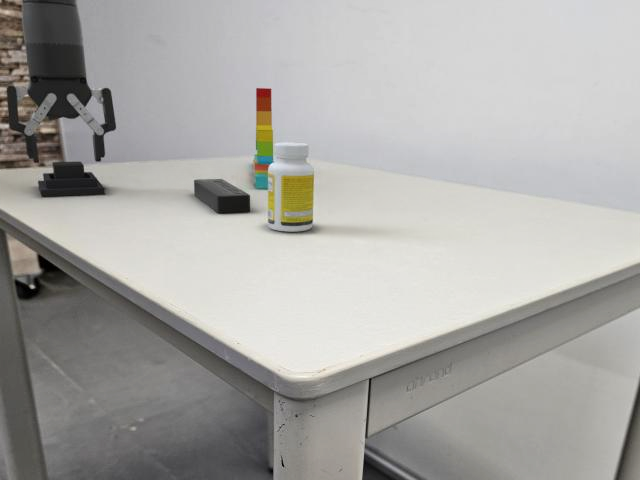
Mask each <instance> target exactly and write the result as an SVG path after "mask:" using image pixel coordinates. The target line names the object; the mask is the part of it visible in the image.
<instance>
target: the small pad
mask: <svg viewBox="0 0 640 480" xmlns="http://www.w3.org/2000/svg"><path fill="white" fill-rule="evenodd" d="M52 170H53V173H54V179H75V178H85V174H84V172H85V166H84V164H83V162H82V161H52Z"/></svg>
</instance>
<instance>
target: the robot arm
mask: <svg viewBox="0 0 640 480" xmlns="http://www.w3.org/2000/svg"><path fill="white" fill-rule="evenodd" d="M21 9H22V11H21V13H22V14H21V19H22V20H21V21H22V29H23V30H22V37H23V39H24V47H25V55H26V63H27V70H28V77H29V83H28V86H27V87H24V86H15V85H13V84H9V85H7V86H6V101H7V111H8V112H7V113H8V114H7V115H8V125H9V126H8V127H9V129H10V130H11V131H13V132H17V133H20V134H22V135H23V136H24V140H25V149H26V155H27V157H28V159H30V160H32V161H33V164H39V163H40V159H39V150H38V142H37V135H36V134H35V132H36V130H37V129H38V128H39V126H40V124H41V123H42V122H43V120H45V117H47V118H50V119H52V120H58V119H62V118H65V119H69V120H76V119H77V118H79V117H81V119H82V120H83V121H84V122H85V124H87V125H88V127H89V128H90V130H92V131H93V134H91V135H92V136H91V137H92V146H93V155H94V156H93V158H94V161H95V163H98V162H99V163H100V162H102V159H103V158H105V156H106V149H105V135H106V134H108V133H109V132H114V131H116V130H117V124H116V116H115V109H114V102H113V94H112V91H111V89H110V88H109V87H105V86H104V87H102V88H91V87H90V86H89V84H88V78H87V68H86V57H85V48H84V37H83V27H82V22H81V16H80V13H79V7H78V0H21ZM25 96H28V97H29V98H30V99H31V100H32V102H33V103H34V104H35V105H36V106H37V107H36V108H35V110H34V111H33V113H32V114H31V116H30V117H29V119H28V120H27V123H26V124H24V123H23V122H20V120H19V110H18V109H19V106H18V104H21V103H23V102H24V97H25ZM92 97H94V98H95V99H96V102H97V103H99V104H101V105H102V111H103V119H104V122H103V123H101V124H99V122H98V121H97V119H96V118H94V116H93V115H92V114H91V113H90V111H89V110H88V109H87V108H86V107H87V106H88V104H89V102H90V100H91V99H92Z"/></svg>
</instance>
